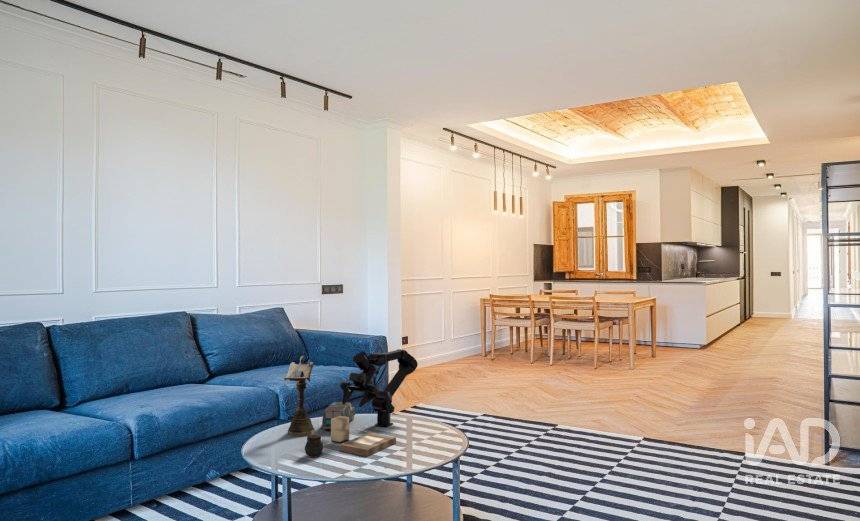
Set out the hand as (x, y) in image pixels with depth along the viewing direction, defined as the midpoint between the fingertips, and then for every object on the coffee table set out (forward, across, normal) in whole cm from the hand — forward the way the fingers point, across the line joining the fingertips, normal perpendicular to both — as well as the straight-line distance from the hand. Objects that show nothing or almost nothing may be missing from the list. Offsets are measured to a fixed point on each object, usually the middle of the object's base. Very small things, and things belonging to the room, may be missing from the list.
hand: (351, 405), depth 258 cm
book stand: (+15, -22, +5) cm, 27 cm away
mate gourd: (+30, +3, -9) cm, 31 cm away
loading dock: (+15, +15, +5) cm, 22 cm away
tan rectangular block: (+15, 0, +5) cm, 16 cm away
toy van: (0, -18, +20) cm, 27 cm away
